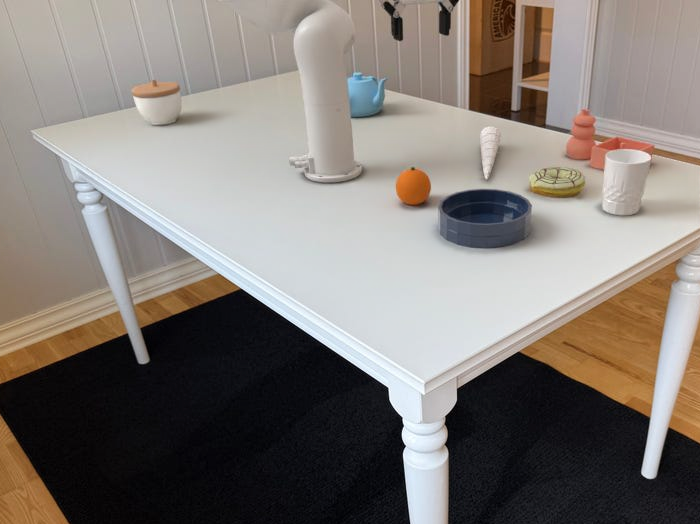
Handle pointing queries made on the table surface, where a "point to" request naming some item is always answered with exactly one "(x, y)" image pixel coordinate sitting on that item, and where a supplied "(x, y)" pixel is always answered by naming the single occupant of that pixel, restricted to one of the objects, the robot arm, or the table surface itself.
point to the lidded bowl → (158, 101)
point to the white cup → (624, 180)
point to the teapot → (365, 95)
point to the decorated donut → (557, 182)
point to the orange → (413, 186)
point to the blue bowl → (484, 218)
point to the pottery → (587, 148)
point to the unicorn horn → (489, 148)
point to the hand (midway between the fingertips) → (421, 37)
